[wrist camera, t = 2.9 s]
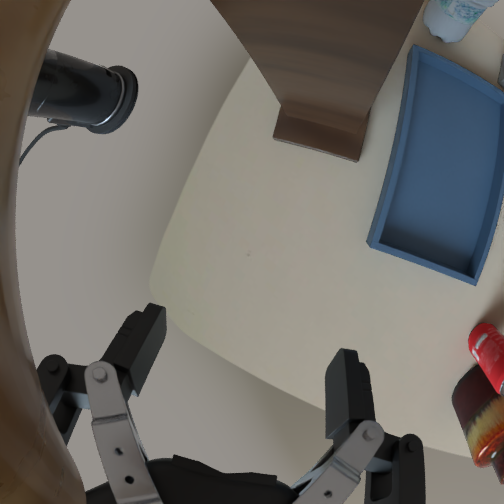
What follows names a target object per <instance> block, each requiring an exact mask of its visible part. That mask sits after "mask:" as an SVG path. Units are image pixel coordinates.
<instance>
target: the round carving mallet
mask: <svg viewBox="0 0 504 504" xmlns="http://www.w3.org/2000/svg"><path fill="white" fill-rule="evenodd" d="M70 1H71V0H0V504H86V494H85V490H84V486H83V482H82V479H81V477H80V474H79V471H78V469H77V466H76V464H75V462H74V460H73V458H72V456H71V454H70V453H69V451H68V449H67V447H66V445H65V443H64V440H63V438H62V436H61V434H60V432H59V430H58V427H57V425H56V423H55V420H54V418H53V416H52V413H51V411H50V408H49V406H48V403H47V400H46V398H45V395H44V392H43V389H42V386H41V383H40V380H39V377H38V374H37V370H36V367H35V364H34V360H33V356H32V353H31V349H30V344H29V340H28V336H27V331H26V327H25V321H24V316H23V311H22V304H21V298H20V291H19V282H18V272H17V260H16V242H15V241H16V240H15V209H16V190H17V177H18V168H19V160H20V153H21V146H22V140H23V134H24V130H25V125H26V120H27V115H28V111H29V107H30V103H31V99H32V96H33V92H34V88H35V85H36V82H37V79H38V75H39V72H40V69H41V67H42V64H43V61H44V58H45V55H46V53H47V50H48V48H49V45H50V43H51V40H52V38H53V35H54V33H55V31H56V29H57V27H58V24H59V22H60V20H61V18H62V16H63V14H64V12H65V10H66V8H67V6H68V5H69V3H70Z"/></svg>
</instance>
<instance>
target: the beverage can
mask: <svg viewBox="0 0 504 504" xmlns="http://www.w3.org/2000/svg"><path fill="white" fill-rule="evenodd" d="M468 344H469V350H470V352H471V353H472V355H473V356H474V358H475V359H476V361H477V362H478V364H479V365H480V367H481V368H482V370H483V371H484V373H485V374H486V376H487V377H488V379H489V381H490V382H491V384H492V385H493V387H494V389H495V390H496V392H497V393H498V394H500V395H501V396H503V397H504V336H503V335H502V334H501V333H500V332H499V331H498V330H497V329H496V328H495V327H494V326H493V325H492V324H489V323H480V324H478V325H477V326H476V327H475V328H474V329H473V330H472V331H471V333H470V335H469V339H468Z"/></svg>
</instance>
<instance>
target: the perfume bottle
mask: <svg viewBox="0 0 504 504" xmlns="http://www.w3.org/2000/svg"><path fill="white" fill-rule="evenodd" d="M498 84H500V85H501V86H502V87H503V88H504V54H503V56H502V62H501V68H500V73H499V78H498Z"/></svg>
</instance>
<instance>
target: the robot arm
mask: <svg viewBox="0 0 504 504" xmlns="http://www.w3.org/2000/svg"><path fill="white" fill-rule="evenodd" d="M103 67H104V68H103ZM105 68H106V67H105V66H102V67H100V66H98V65H95V64H92V63H90V62H87V61H84V60H81V59H78V58H76V57H73V56H70V55H66V54H63V53H60V52H56V51H53V50H50V49H48V50H47V53H46V55H45V58H44V61H43V64H42V67H41V69H40V72H39V75H38V79H37V82H36V85H35V88H34V92H33V96H32V99H31V103H30V107H29V111H28V115H27V116H35V117H44V118H47V121H48V122H49V123H55V124H57V125H58V126H52V127H49V128H47V129H45V130H44V131H42V132H41V133H40V134H39V135H38V136H37V137H36V138H35V139H34V140H33V141H32V142H31V144H30V145H29V146H28V147H27V149H26V150H25V152H24V153H23V155H22V156H21V158H20V160H19V166H20V164H21V163H22V161H23V159H24V158H25V156H26V155H27V153H28V152H29V150H30V149H31V148H32V147H33V146H34V145H35V143H36V142H37V141H38V140H39V139H40V138H41V137H42V136H43V135H45V134H47V133H49V132H51V131H55V130H63V129H67V128H68V127H70V126H71V125H72V126H80V127H87V128H92V127H93V126H95V125H96V126H101V125H105V124H107V123H108V122H110V121H111V120H112V119H113V118H114V117H115V116H116V115H117V113H118V112H119V110H120V109H121V107H122V105H123V102H124V99H125V96H126V81H125V79H124V77H123V76H122V75H121V74H119V73H117V72H115V71H111V70H109V69H108V68H106V69H105ZM166 330H167V326H166V308H165V307H163V306H159V305H156V304H153V303H149V304H148V305H147V307H146V308H145V310H144V311H143V312H140V311H135V312H133V313H132V314H131V315H129V316H128V317H127V318H126V320H125V321H124V323H123V325H122V327H121V328H120V329H119V331H118V333H117V334H116V336H115V337H114V339H113V340H112V342H111V344H110V345H109V347H108V348H107V350H106V352H105V353H104V355H103V357H102V358H101V359H100V360H99V361H96V362H93V363H91V364H90V365H89V366H81V365H74V364H67V362H66V360H65V359H64V358H63V357H62V356H60V355H56V354H53V355H49V356H47V357H45V358H44V359H43V360H42V362H41V363H40V365H39V367H38V368H37V374H38V377H39V380H40V383H41V386H42V389H43V392H44V395H45V398H46V400H47V403H48V406H49V408H50V411H51V413H52V416H53V418H54V420H55V423H56V425H57V427H58V430H59V432H60V434H61V436H62V438H63V440H64V443H65V445H66V447H67V444H68V442H69V439H70V437H71V434H72V432H73V429H74V427H75V425H76V422H77V420H78V418H79V415H80V413H81V411H82V408H84V409H90V410H91V413H92V418H93V421H92V430H93V434H94V437H95V441H96V445H97V448H98V451H99V455H100V458H101V461H102V464H103V467H104V470H105V473H106V476H107V479H108V482H106V483H104V484H101V485H99V486H97V487H95V488H93V489H90V490H88V491H86V492H85V494H86V504H343V503H344V502H345V500H346V499H347V498H348V497H349V496H350V494H351V493H352V492H353V491H354V489H355V488H356V487H357V485H358V484H359V482H360V480H361V478H360V475H361V473H362V472H363V470H366V484H365V499H364V504H425V500H426V495H425V467H424V453H423V444H422V441H421V440H420V438H419V437H418V436H416V435H414V434H406V435H404V436H403V437H402V438H400V437H397V436H394V435H391V434H388V433H385V432H384V430H383V428H382V427H381V425H380V424H379V423H377V422H376V419H375V411H374V403H373V395H372V391H371V390H372V388H371V384H370V382H371V381H370V374H369V371H368V369H367V367H366V366H365V364H364V363H361V362H359V359H358V353H357V351H356V350H350V349H343V348H341V349H339V351H338V352H337V354H336V355H335V357H334V358H333V360H332V361H331V363H330V365H329V366H328V368H327V371H326V375H325V398H326V439H333V445H332V446H331V447H330V449H329V450H328V451H327V452H326V453H325V454H324V455H323V456H322V458H321V459H320V460H319V461H318V462H317V463H316V464H315V465H314V466H313V467H312V468H311V469H310V470H309V471H308V472H307V473H306V474H305V475H304V476H303V477H301V478H300V479H299V480H298V481H297V482H296V483H295V484H293V485H292V486H291V487H289V486H288V485H286V484H284V483H282V482H280V481H278V480H277V476H276V475H267V474H260V473H253V472H249V473H222V472H219V471H218V470H215V469H213V468H211V467H209V466H207V465H205V464H203V463H201V462H199V461H195V460H191V459H188V458H185V457H181V456H178V455H173V458H160V459H154V460H150V461H149V459H148V457H147V454H146V452H145V449H144V447H143V445H142V442H141V440H140V438H139V435H138V432H137V429H136V427H135V424H134V421H133V418H132V415H131V412H130V408H129V405H128V400H129V398H130V396H131V394H132V395H135V396H137V397H138V396H139V394H140V391H141V389H142V387H143V385H144V383H145V380H146V378H147V376H148V374H149V371H150V369H151V367H152V365H153V363H154V361H155V359H156V357H157V354H158V352H159V350H160V348H161V346H162V344H163V342H164V339H165V336H166Z"/></svg>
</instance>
